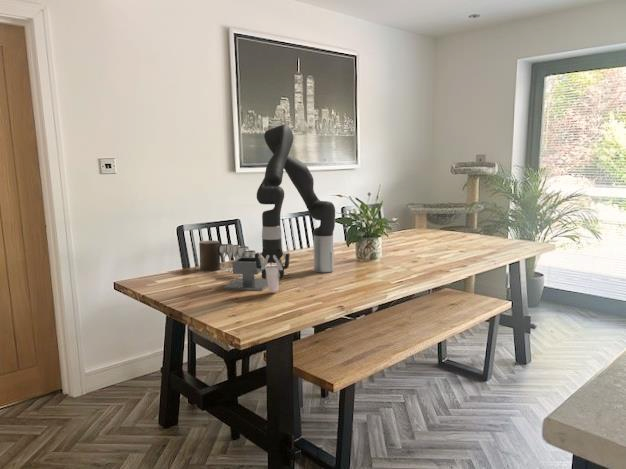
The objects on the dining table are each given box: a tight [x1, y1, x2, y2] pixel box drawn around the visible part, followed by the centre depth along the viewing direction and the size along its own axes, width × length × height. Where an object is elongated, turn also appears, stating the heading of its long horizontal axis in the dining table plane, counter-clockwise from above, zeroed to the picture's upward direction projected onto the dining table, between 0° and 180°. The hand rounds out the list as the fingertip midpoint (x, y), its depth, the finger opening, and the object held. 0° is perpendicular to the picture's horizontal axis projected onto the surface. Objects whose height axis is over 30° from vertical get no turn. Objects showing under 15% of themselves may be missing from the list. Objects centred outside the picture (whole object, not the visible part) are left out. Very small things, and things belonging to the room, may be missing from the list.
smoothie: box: [265, 263, 280, 292], centre depth 193 cm, size 6×6×14 cm
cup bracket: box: [223, 257, 268, 292], centre depth 206 cm, size 16×16×11 cm
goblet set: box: [218, 243, 257, 278], centre depth 229 cm, size 28×6×13 cm, turn 43°
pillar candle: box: [198, 239, 221, 272], centre depth 237 cm, size 10×10×15 cm
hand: (272, 278), depth 194 cm, fingers closed on smoothie, 6 cm apart
